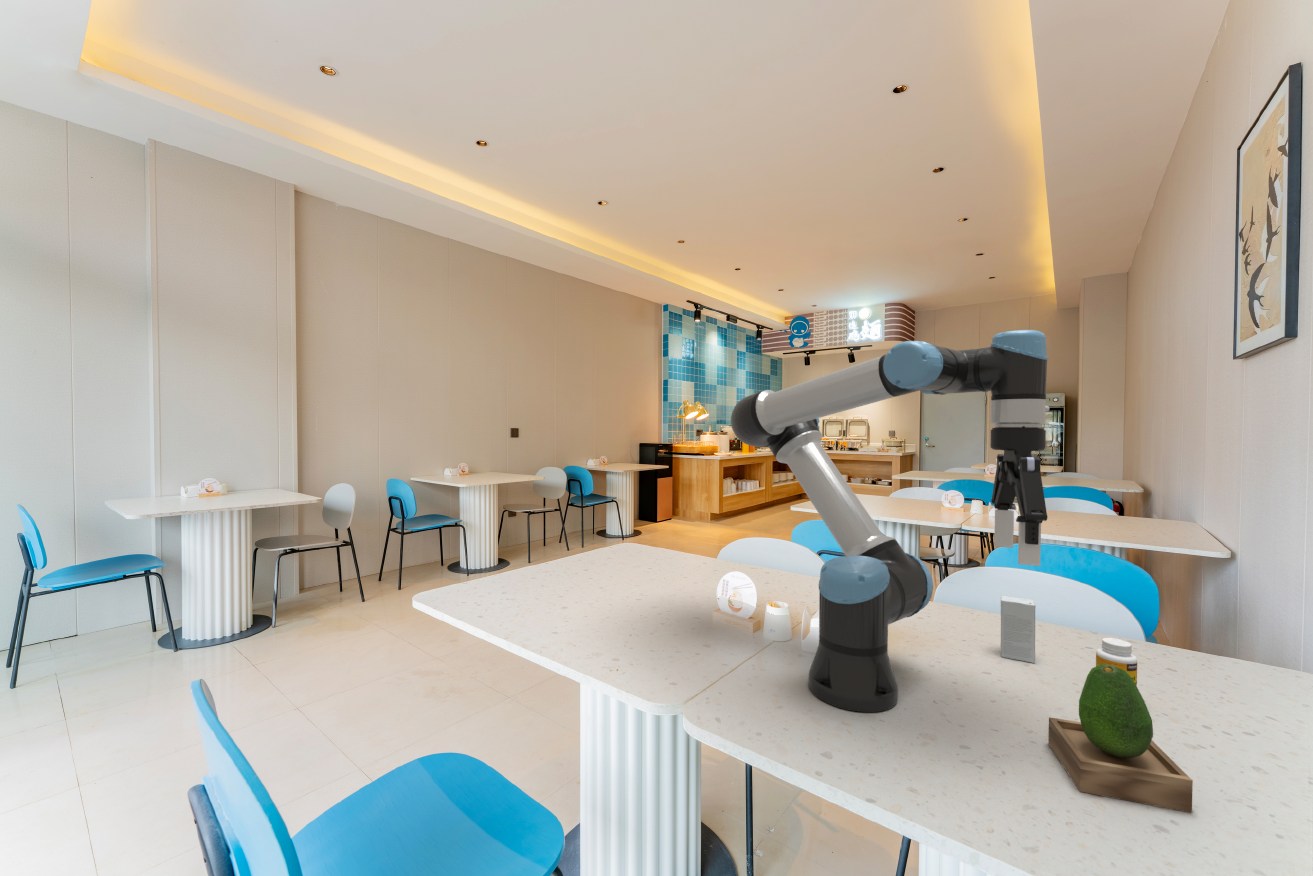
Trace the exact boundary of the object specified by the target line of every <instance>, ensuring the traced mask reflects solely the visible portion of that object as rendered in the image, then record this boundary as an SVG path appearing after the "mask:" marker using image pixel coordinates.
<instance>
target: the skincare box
mask: <svg viewBox="0 0 1313 876" xmlns="http://www.w3.org/2000/svg"><path fill="white" fill-rule="evenodd" d="M1036 608H1037V607H1036V604H1035V600H1034V599H1027V598H1021V597H1012V596H1007V595H1006V596H1005V595H1001V596H1000V657H1001V658H1006V659H1010V660H1016V661H1021V662H1027V663H1033V664H1035V663H1036Z"/></svg>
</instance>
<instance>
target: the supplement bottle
mask: <svg viewBox="0 0 1313 876" xmlns="http://www.w3.org/2000/svg"><path fill="white" fill-rule="evenodd" d="M1095 651H1096V652H1095V667H1096V666H1099V665H1112V666H1114V667H1117V668H1119V669H1122V670H1124V671H1126V672H1127V673H1128V674H1129V675H1130V677H1131V678H1132V679H1133V681H1134V683H1135V684H1136V686H1137V687H1138V658H1137V657H1136V656H1135V655H1134V654H1132V652H1133V647H1132V644H1131V643H1130V642H1128V641H1126V640H1123V639H1120V638H1114V637H1104V638H1102V640H1101V647H1100V648H1099V647H1098V648H1097V649H1096V650H1095Z"/></svg>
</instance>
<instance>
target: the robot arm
mask: <svg viewBox="0 0 1313 876" xmlns="http://www.w3.org/2000/svg"><path fill="white" fill-rule="evenodd" d="M1047 351H1048V350H1047V337H1046V335H1045V333H1044V332H1042V331H1039V330H1035V329H1019V330H1010V331H1009V330H1008V331H1005V332H1004V331H1003V332H1000V333H999V332H998V333H996V334H994V336H993V337H991V344H990V346H987V347H986V346H985V347H981V348H975V349H974V348H972V349H961V350H960V349H959V350H957V349H952V348H947V347H945V346H938V345H935V344H931V343H928V342H926V341H922V340H906V341H905V340H904V341H902V342H899V343H897V344H894V346H892V348H890V349H889V351H888V352H887V353H885V354H884V355H881V356H878V357H875V358H871V359H868V360H866V361H862V362H860V363H857V364H853V365H851V366H848V367H845V368H842V369H839V370H835V371H833V372H830V373H827V374H824V375H821V376H818V377H816V378H812V379H810V380H807V381H803V382H800V383H797V384H795V385H792V386H788V387H785V388H782V389H780V390H777V391H774V390H770V389H765V390H762V391H759V392H756V393H754V394H753V393H752V394H751V395H747V396H745V397H743V398H741V399H740V400H739V401H738V402H737V403H736V404H735V406H734V407H733V409H732V412H731V416H730V425H731V429H732V432H733V434H734V435H735V436H736V437H737V439H738V440H739V441H740V442H742V443H744V444H745V445H747V446H750V447H756V448H759V447H760V448H762V447H763V448H767V447H768V448H769V450H770V452H771V453H772V455H773V457H774V458H775V459H776V461H777V462H778V463H781V464H787V466H788V467H789V469H790V470H791V473H793V476H794V477H795V478H796V480H797V482H798V483H799V485H800V486H801V488H802V489H803V491H804V493H805V494H806V495H807V498H808V499H809V501H810V502H811V504H812V505H813V507H814V509H815V510H816V512H817V513H818V515H819V516H820V518H821V519H822V521H823V523H824V524H825V525H826V527H827V528H828V530H829V532H830V534H831V535H832V536H833V538H834V539H835V541H836V543H837V545H839V548H840V550H841V551H842V552H843V554H844V555H843V556H842V555H841V556H837V557H834V558H831V559H829V560H827V561H826V562H824V563H823V564H822V566H821V568H820V572H819V573H820V575H819V581H818V591H819V598H818V599H819V601H818V602H819V608H818V609H819V611H818V612H819V613H818V614H819V619H818V623H819V624H818V626H819V627H818V633H819V634H818V637H819V638H818V646H817V649H816V651H815V654H814V657H813V660H812V662H811V666H810V667H809V668H810V669H809V671H808V688H809V690H810V692H811V693H812V694H813V695H814V696H815V697H817V699H819V700H821V701H822V702H824V703H827V704H829V705H831V706H834V707H837V708H840V709H844V710H848V711H852V712H853V711H854V712H862V713H875V712H876V713H877V712H884V711H886V710H887V711H888V710H890V709H892V708H893V707H895V706H896V705H897V704H898V700H899V688H898V682H897V679H896V675H895V673H894V670H893V667H892V663H891V660H890V657H889V654H888V650H889V649H888V648H889V646H888V644H889V643H888V641H889V639H888V638H889V636H888V635H889V625H891V624H893V623H896V622H898V621H901V620H903V619H906V618H910V617H913V616H914V615H915V614H918V613H919V612H920V611H922V610H923V609H925V607H926V606H927V605H928V604H929V602H930V601H931V599H932V596H933V591H934V581H933V577H932V574H931V571H930V570H929V568H928V566H927V565H926V563H925V562H923V561H922V559H920V558H919V557H917V556H916V555H913V554H911V553H908V552H906V551H904V549H903V548H902V547H901V545H900V543H899V542H898V541H897V540H896V538H894V537H892V536H886V535H884V534H883V532H882V531H881V530H880V528H879V527H878V526H877V524H876V522H875V521H874V520H873V518H872V517H871V515H870V514H869V512H868V511H867V509H866V508H865V507H864V505H863V504H862V503H861V501H860V499H859V498H858V496H857V495H856V494H855V492H854V490H853V489H852V487H851V486H850V484H849V483H848V482H847V481H846V479H845V477H843V475H842V474H841V472H840V470H839V469H838V467H837V466H836V465H835V463H834V462H833V460H832V459H831V457H830V455H828V453H827V452H826V450H825V449H824V447H823V445H822V444H821V441H822V438H823V434H822V432H821V430H820V425H819V423H820V419H821V418H823V417H827V416H830V415H834V414H838V413H841V412H845V411H848V410H852V409H856V408H860V407H863V406H867V405H870V404H874V403H878V402H881V401H884V400H889V399H893V398H895V397H896V398H897V397H900V396H904V395H908V394H911V393H915V392H919V391H920V392H921V393H922V394H926V395H940V396H943V395H946V394H963V393H977V392H982V393H985V392H986V393H987V392H990V394H991V395H990V422H989V423H990V424H991V425H994V427H992V428H991V429H990V446H989V447H990V448H991V449H992V450H995V451H1003V453H998V454H997V455H996V470H995V474H994V475H995V476H994V482H993V487H992V494H991V499H990V502H991V504H993V508H994V542H993V543H994V547H996V548H1007V549H1009V548H1011V549H1013V548H1014V527H1015V526H1014V523H1015V521H1016V522H1017V523H1018V537H1017V538H1018V539H1017V541H1018V543H1017V546H1018V547H1017V564H1018V565H1022V566H1023V565H1024V566H1033V567H1035V566H1036V567H1041V547H1042V546H1041V545H1042V543H1041V542H1042V541H1041V540H1042V538H1041V537H1042V523H1043V521H1044V522H1045V521H1047V520H1048V513H1047V506H1046V500H1045V493H1044V487H1043V486H1044V485H1043V480H1042V473H1041V463H1042V462H1041V458H1040V457H1039V456H1038V457H1035V456H1034V457H1032V456H1033V455H1032V451H1033V452H1034V451H1035V452H1041V451H1044V450H1045V449H1046V439H1047V437H1046V433H1047V431H1046V429H1045V427H1042V426H1041V425H1044V424H1046V414H1047V412H1049V411H1050V406H1049V405H1047V404H1046V403H1047V402H1046V399H1047V376H1048V375H1047V372H1048V371H1047V370H1048V361H1049V358H1048V353H1047ZM1015 498H1016V500H1017V505H1018V510H1019V515H1018V516H1017V517H1016V519H1015V510H1017V507H1016V503H1014V501H1015Z"/></svg>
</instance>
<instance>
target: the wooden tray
mask: <svg viewBox="0 0 1313 876" xmlns="http://www.w3.org/2000/svg"><path fill="white" fill-rule="evenodd" d="M1047 735H1048V736H1047V737H1048V745H1049V747H1050V749H1051V750H1052V751H1053V753H1054V755H1055V756H1056V758H1057V759H1058V761H1059V762H1060V764H1061V765H1062V767H1063V768H1064V769H1065V771H1066V772H1067V774H1068V775H1069V777H1070V778H1071V780H1072V782H1073V783H1074V785H1075V786H1076V787H1077V789H1078V791H1079V792H1081V793H1086V794H1090V795H1096V796H1102V797H1108V798H1113V799H1116V800H1117V799H1118V800H1124V801H1129V802H1134V803H1139V804H1144V805H1150V806H1156V807H1159V808H1165V809H1172V810H1176V811H1183V812H1186V813H1191V812H1192V813H1193V783H1194V782H1193V779H1191V777H1189V775H1188V774H1187V773H1186V772H1185V771H1184V770H1183V769H1182V768H1180V766H1179V765H1178V764H1177V763H1176V762H1175V761H1173V759H1172V758H1171V757H1169V756H1168V755H1167V753H1165V751H1163V749H1161V747H1159V746H1158V745H1157V744H1156V743H1155V742H1154V740H1153V739H1152V740H1151V743H1150V746H1149V748H1148V749H1147V750H1146V751H1145V752H1144V753H1143V754H1142V755H1140V756H1138V757H1133V758H1123V757H1116V756H1113V755H1111V754H1108V753H1105V752H1103V751H1101V750H1100V749H1099V748H1097V747H1096V746H1095V745H1093V744H1092V743H1091V742H1090V740H1089V739H1088V738H1087V736H1086V734H1085V733H1084V730H1083V728H1082V725H1081V721H1077V720H1069V719H1063V718H1055V717H1051V716H1049V717H1048V734H1047Z"/></svg>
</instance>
